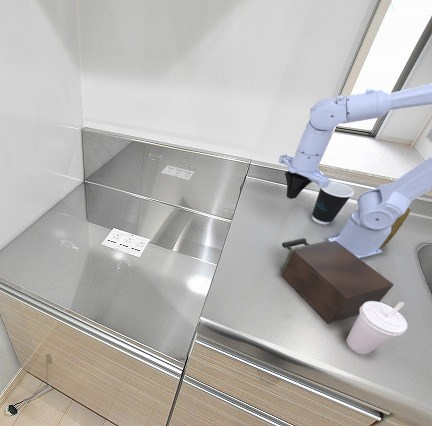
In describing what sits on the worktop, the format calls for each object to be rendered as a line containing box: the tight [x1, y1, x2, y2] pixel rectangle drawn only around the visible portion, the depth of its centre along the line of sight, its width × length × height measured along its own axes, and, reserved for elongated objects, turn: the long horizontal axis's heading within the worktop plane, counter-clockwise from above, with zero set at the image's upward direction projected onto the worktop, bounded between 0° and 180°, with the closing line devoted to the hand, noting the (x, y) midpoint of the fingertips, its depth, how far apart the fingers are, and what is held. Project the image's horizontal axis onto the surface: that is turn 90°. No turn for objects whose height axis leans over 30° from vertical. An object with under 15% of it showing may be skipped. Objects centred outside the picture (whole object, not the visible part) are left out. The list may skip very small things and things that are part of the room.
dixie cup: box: [311, 181, 355, 225], centre depth 85 cm, size 8×8×11 cm
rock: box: [380, 207, 411, 249], centre depth 80 cm, size 11×9×10 cm
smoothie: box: [345, 301, 408, 356], centre depth 53 cm, size 6×6×14 cm
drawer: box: [281, 237, 329, 272], centre depth 67 cm, size 17×10×7 cm, turn 15°
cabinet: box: [281, 241, 395, 325], centre depth 64 cm, size 14×12×9 cm
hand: (291, 197), depth 80 cm, fingers closed
